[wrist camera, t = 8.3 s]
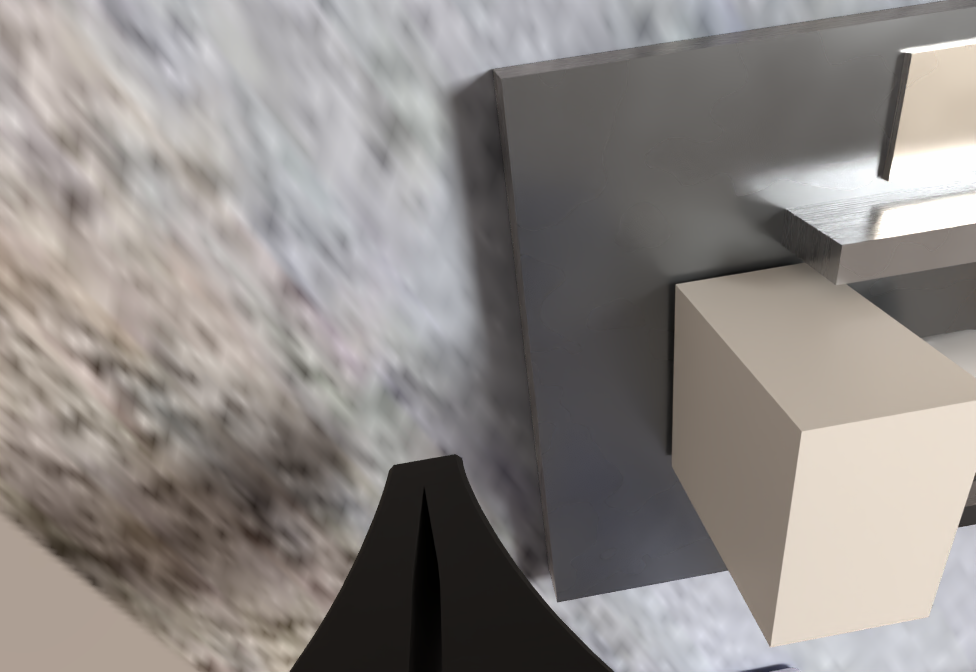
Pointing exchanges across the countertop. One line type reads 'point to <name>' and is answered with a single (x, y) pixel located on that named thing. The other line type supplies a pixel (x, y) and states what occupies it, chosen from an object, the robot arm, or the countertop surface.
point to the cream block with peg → (821, 448)
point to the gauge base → (717, 237)
